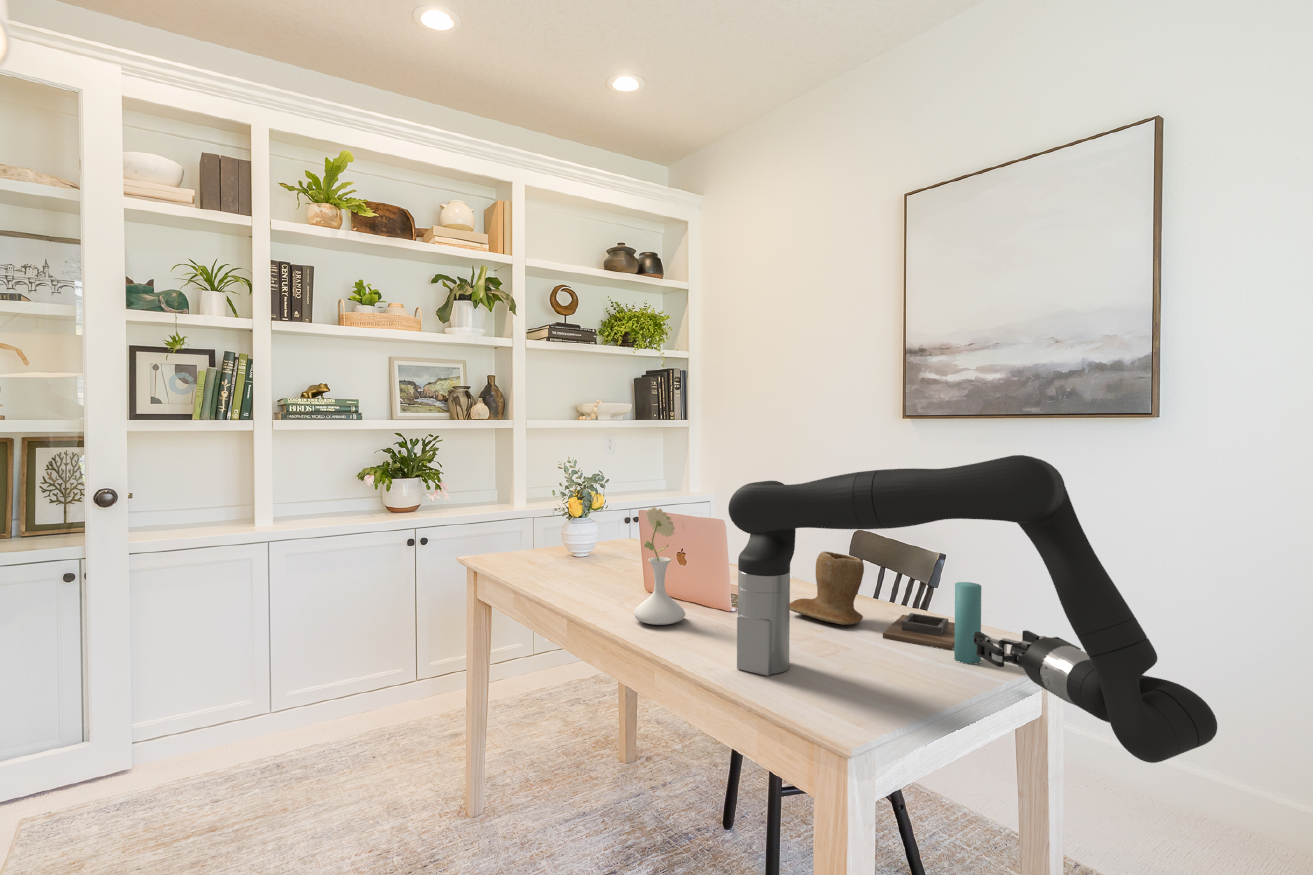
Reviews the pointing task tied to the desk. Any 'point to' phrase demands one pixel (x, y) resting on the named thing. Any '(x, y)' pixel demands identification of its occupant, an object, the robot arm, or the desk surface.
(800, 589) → the desk surface
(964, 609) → the teal pillar
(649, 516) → the flower in vase
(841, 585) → the brown hollow flared cylinder
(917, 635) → the walnut base board
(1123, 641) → the robot arm
